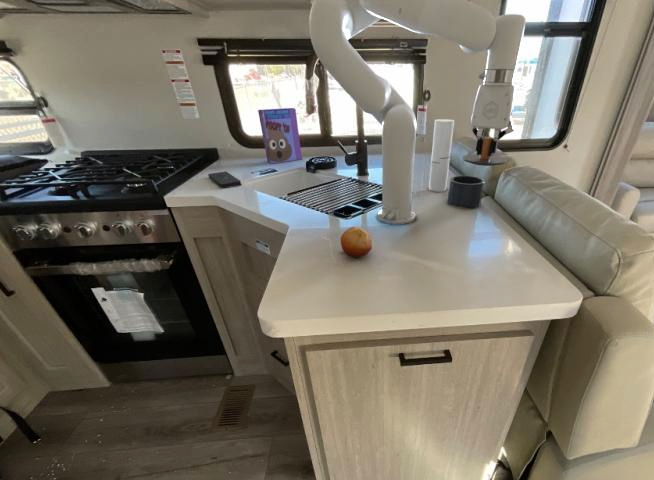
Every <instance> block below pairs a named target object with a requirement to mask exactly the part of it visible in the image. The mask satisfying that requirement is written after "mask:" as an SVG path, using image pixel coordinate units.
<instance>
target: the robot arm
mask: <svg viewBox="0 0 654 480" xmlns="http://www.w3.org/2000/svg"><path fill="white" fill-rule="evenodd" d="M308 19H309V21H308V22H309V23H308V28H309V37H310V42H311V44H312V48H313V51H314V52H315V55H316V57H317V58H318V60H319V61H320V63H321V64H322V66H323V67H324V68H325V70H326V71H327V73H329V74H330V76H332V78H333V79H334V80H335V81H336V82H337V83H338V84H339V86H340V87H341V88H342V90H344V92H345V93H346V94H347V95H348V96H349V97H350V99H352V100H353V102H355V104H356V105H357V106H358V108H359V109H360V110H361V111H363V112H364V113H365V114H367V115H371V116H373V118H374V119H375V120H376V121H377V122H378V123H379V124H380V126H381V149H382V150H381V151H382V154H381V155H382V158H381V159H382V161H381V162H382V163H381V164H382V165H381V169H382V175H381V177H382V179H381V181H382V185H381V187H382V190H381V191H382V193H381V194H382V196H381V197H382V199H381V205H382V206H381V210H379V211H378V212H377V215H376V219H377V220H378V221H380V222H383V223H386V224H390V225H391V224H392V225H405V224H409V223H411V222H413V221H415V220H416V216H417V215H416V213H415V211H413V210H412V207H413V189H414V173H415V171H414V170H415V153H416V141H417V129H418V125H417V117H416V113H415V112H414V110H413V109H412V108H411V106H410V105H409V104H408V103H407V102H406V100H405V99H404V98H403V97H402V96H401V95H400V93H399V92H398V91H397V89H395V88H394V86H392V84H391V83H390V82H389V81H388V79H387V78H385V77H384V76H383V75H381V74H379V73H376V72H375V71H374V70H373V68H372V67H370V65H369V64H368V63H367V62H366V61H365V60H364V59H363V57H362V56H361V55H360V54H359V52H358V51H357V50H356V49H355V48H354V47H353V45H351V43H350V42H349V39H352V38H353V37H355V36H356V35H358V34H359V33H361V32H362V31H364V30H366V29H368V28H369V27H371V26H372V25H374V24H376V23H377V22H379V21H380V20H381V19H383V20H385V21H388V22H390V23H392V24H395V25H397V26H399V27H402V28H403V29H406V30H408V31H411V32H412V33H413V32H414V33H416V34H419V35H430V36H435V37H438V38H441V39H444V40H447V41H449V42H452V43H453V44H456V45H458V46H459V47H460V49H461V50H462V51H463V52H464V53H466V54H470V55H474V54H480V53H487V58H486V64H485V69H484V71H483V72H479V74H478V79H479V80H482V82H483V83H482V84H479V86H478V88H477V92H476V96H475V100H474V103H473V109H472V112H471V117H470V120H469V122H468V123H467V125H466V128H467V129H468V130H469V131H471V132H472V133H473V135H474V136H475V137H476V147H475V152H476V154H477V155H480V153H481V147H482V142H483V137H484V135H485V130H486V129H492V130H494V132H493V141H491V145H490V150H489V156H490V157H491V156H493V155H495V154H496V153H497V150H498V144H499V141H500V140H501V139H502V138H503V137H504V136H506V135H508V134H511V133H513V132H514V131H515V126H514V121H513V114H514V108H515V99H516V84H515V85H514V82H515V77H516V72H517V68H518V63H519V58H520V53H521V48H522V42H523V38H524V34H525V30H526V17H525V16H524V15H522V14H516V13H509V14H508V13H507V14H501V15H498V16H497V17H495V16H494V15H493V14H492V13H491V11H489V10H487V9H486V8H484V7H482V6H480V5H478V4H475V3H473V2H472V1H469V0H313V1H312V5H311V7H310V12H309V18H308Z"/></svg>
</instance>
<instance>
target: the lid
mask: <svg viewBox="0 0 654 480" xmlns="http://www.w3.org/2000/svg"><path fill="white" fill-rule="evenodd" d="M493 138H494V136H493V137H492V136H483V142H482V147H481V153H480V155H477V153H469V154H465V155H462V161H464V162H466V163H469V164H471V165H476V166H483V167H494V166H501V165H504V164H506V163H508V158H505V157H503V156H501V155H496V154H494V155H493V156H491V157H490V156H489V150H490V145H491V141H493Z"/></svg>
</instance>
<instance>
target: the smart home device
mask: <svg viewBox="0 0 654 480" xmlns="http://www.w3.org/2000/svg"><path fill="white" fill-rule="evenodd" d="M207 175H208V178H209V179H210V180H211V181H212V182H213V183H215V184H216V185H217V186H218V187H219V188H221V189H225V188H226V189H227V188H231V187H232V188H233V187H239V186H241V185H242V182H241V180H240V179H239V178H237V177H235V176H234V175H232V173H229V171H219V172H211V173H208V174H207Z"/></svg>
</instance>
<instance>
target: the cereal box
mask: <svg viewBox="0 0 654 480" xmlns="http://www.w3.org/2000/svg"><path fill="white" fill-rule="evenodd" d="M257 112H258V118H259V124H260V128H261V133H262V140H263V145H264V151H265V155H266V156H265V157H266V161H267V164H270V165H274V164H275V165H276V164H281V163H288V162H295V161H302V160H303V157H302V149H301V141H300V133H299V126H298V125H299V124H298V118H297V117H298V116H297V109H296V108H294V107H285V108H283V107H282V108H269V109H267V108H265V109H257Z"/></svg>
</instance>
